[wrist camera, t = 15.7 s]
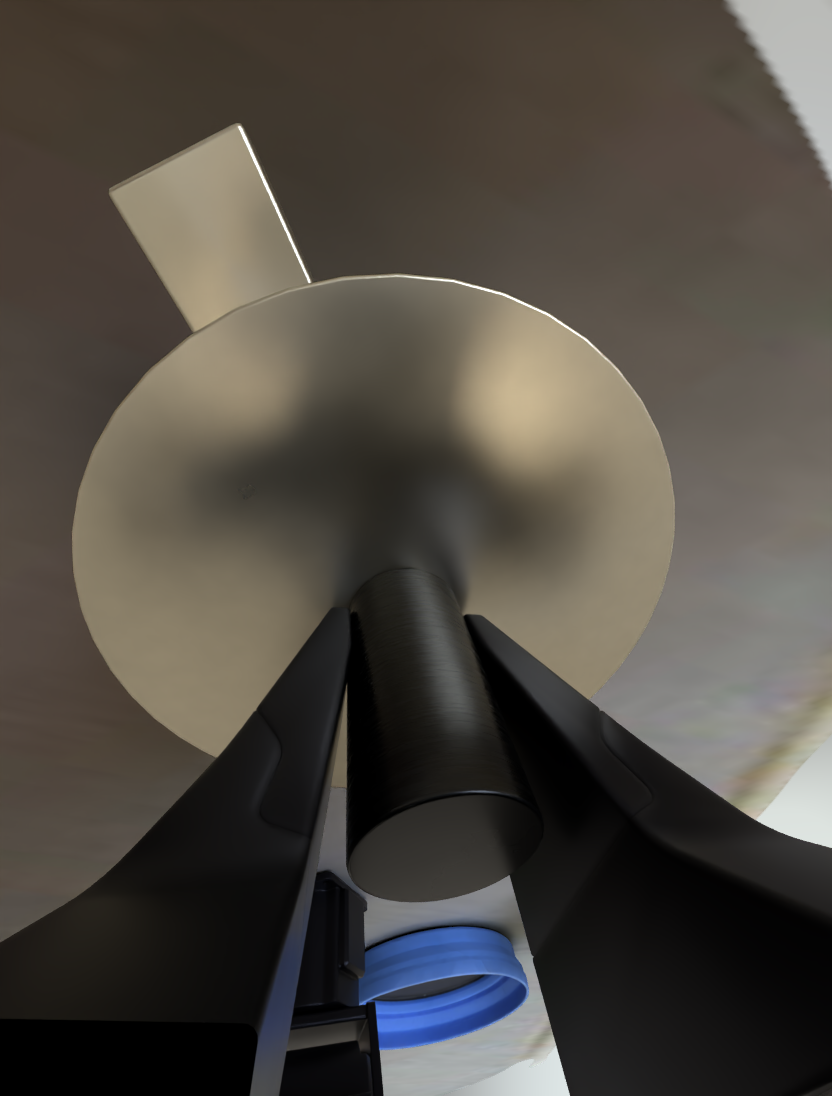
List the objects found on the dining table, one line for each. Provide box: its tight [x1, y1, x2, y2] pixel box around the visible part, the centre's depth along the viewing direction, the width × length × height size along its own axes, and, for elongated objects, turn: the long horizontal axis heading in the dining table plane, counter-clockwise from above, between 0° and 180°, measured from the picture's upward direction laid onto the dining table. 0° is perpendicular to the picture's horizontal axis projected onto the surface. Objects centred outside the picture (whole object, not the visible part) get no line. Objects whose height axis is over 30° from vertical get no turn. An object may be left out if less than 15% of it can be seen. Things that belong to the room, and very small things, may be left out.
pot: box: [108, 123, 315, 333], centre depth 13 cm, size 12×18×7 cm
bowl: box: [359, 927, 529, 1050], centre depth 38 cm, size 18×18×4 cm
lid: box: [72, 273, 675, 902], centre depth 8 cm, size 13×13×6 cm
